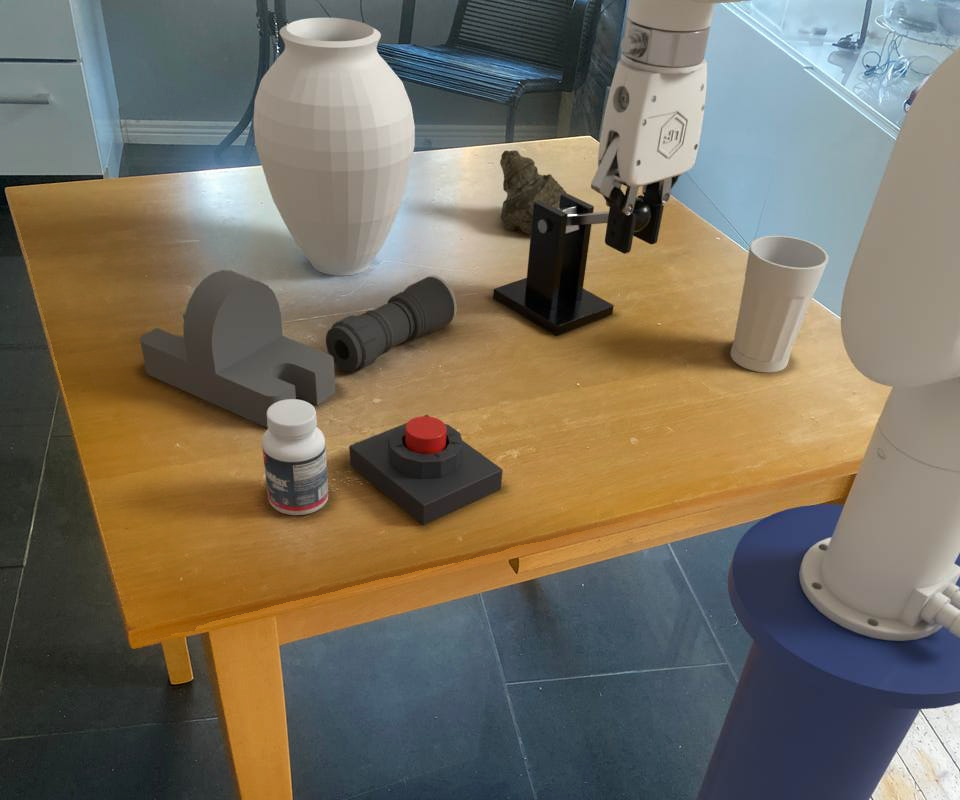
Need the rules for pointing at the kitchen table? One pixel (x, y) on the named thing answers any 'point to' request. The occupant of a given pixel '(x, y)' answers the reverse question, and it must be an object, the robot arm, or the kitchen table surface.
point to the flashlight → (391, 323)
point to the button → (425, 435)
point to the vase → (334, 141)
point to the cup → (775, 300)
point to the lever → (606, 216)
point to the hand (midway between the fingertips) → (630, 242)
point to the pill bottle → (294, 458)
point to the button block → (425, 473)
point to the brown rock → (525, 190)
